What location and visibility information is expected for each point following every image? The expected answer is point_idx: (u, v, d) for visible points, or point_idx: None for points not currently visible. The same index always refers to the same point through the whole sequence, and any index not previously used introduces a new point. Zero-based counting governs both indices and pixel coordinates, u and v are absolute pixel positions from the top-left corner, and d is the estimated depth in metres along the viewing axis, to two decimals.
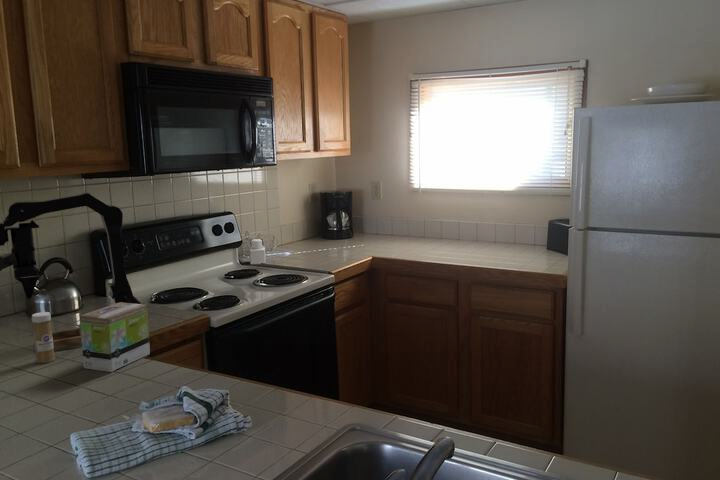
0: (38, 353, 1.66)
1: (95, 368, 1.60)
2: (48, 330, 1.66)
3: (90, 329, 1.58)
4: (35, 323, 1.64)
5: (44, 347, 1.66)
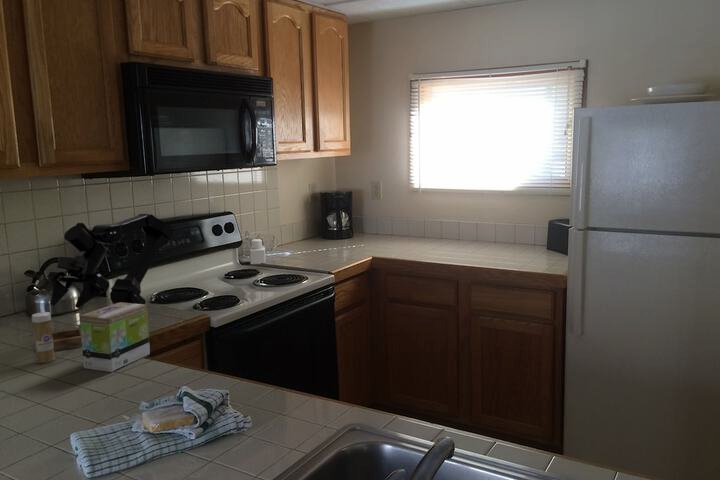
0: (38, 353, 1.66)
1: (95, 368, 1.60)
2: (48, 330, 1.66)
3: (90, 329, 1.58)
4: (35, 323, 1.64)
5: (44, 347, 1.66)
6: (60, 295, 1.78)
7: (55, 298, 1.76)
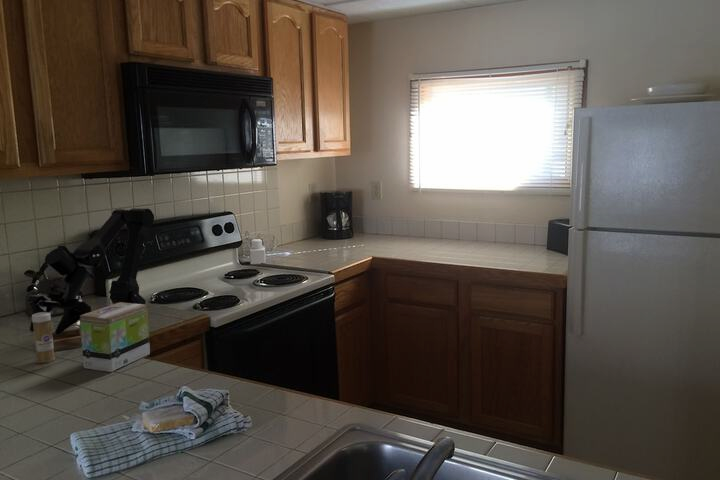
0: (38, 353, 1.66)
1: (95, 368, 1.60)
2: (48, 330, 1.66)
3: (90, 329, 1.58)
4: (35, 323, 1.64)
5: (44, 347, 1.66)
6: None
7: None
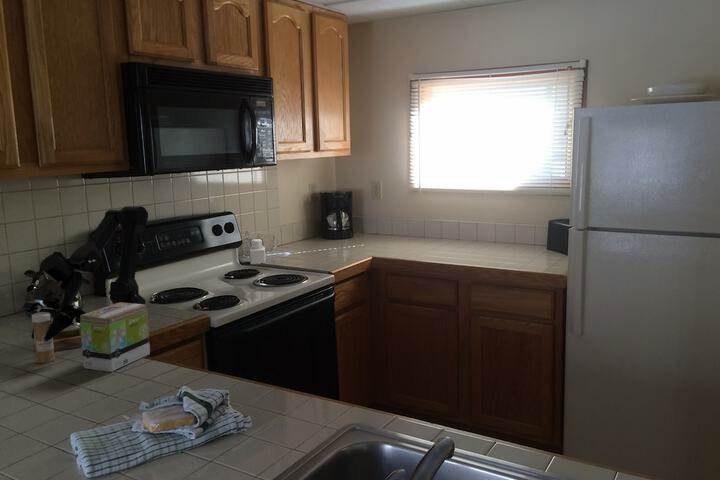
0: (38, 353, 1.66)
1: (95, 368, 1.60)
2: None
3: (90, 329, 1.58)
4: (35, 323, 1.64)
5: (44, 347, 1.66)
6: None
7: None
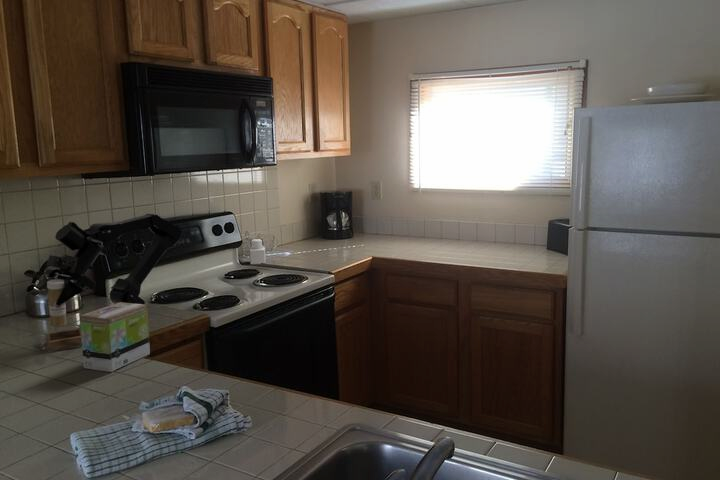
0: (50, 317, 1.77)
1: (95, 368, 1.60)
2: None
3: (90, 329, 1.58)
4: (49, 289, 1.75)
5: (55, 313, 1.76)
6: None
7: None
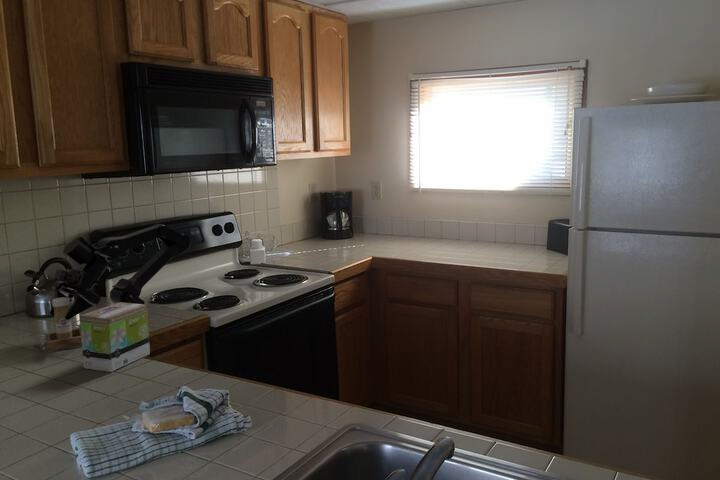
0: (57, 335, 1.81)
1: (95, 368, 1.60)
2: None
3: (90, 329, 1.58)
4: (54, 307, 1.79)
5: (61, 330, 1.80)
6: None
7: None
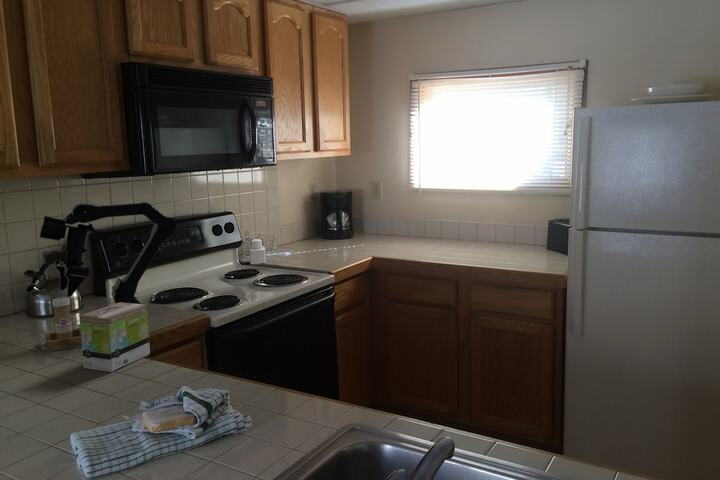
0: (57, 334, 1.81)
1: (95, 368, 1.60)
2: (65, 314, 1.80)
3: (90, 329, 1.58)
4: (54, 307, 1.79)
5: (61, 330, 1.80)
6: None
7: (62, 283, 1.91)
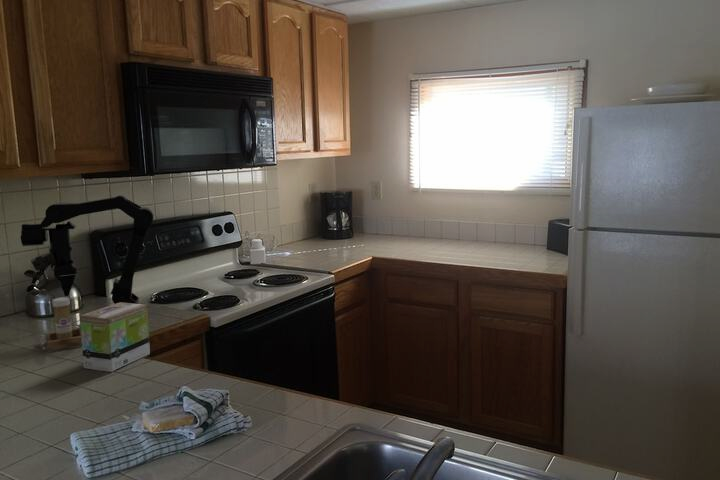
0: (57, 335, 1.81)
1: (95, 368, 1.60)
2: (65, 314, 1.80)
3: (90, 329, 1.58)
4: (54, 307, 1.79)
5: (61, 330, 1.80)
6: None
7: None
